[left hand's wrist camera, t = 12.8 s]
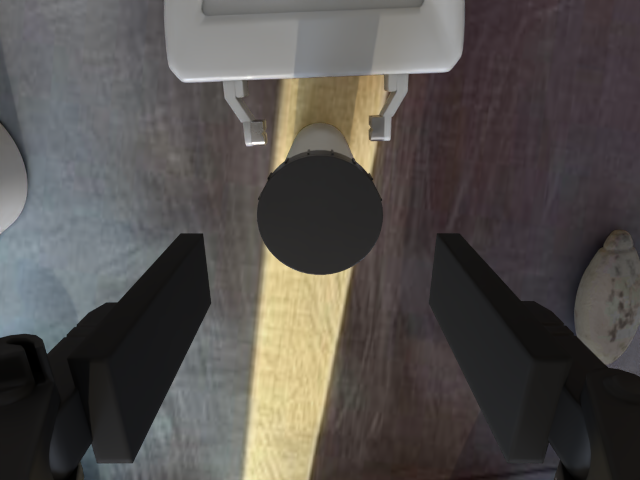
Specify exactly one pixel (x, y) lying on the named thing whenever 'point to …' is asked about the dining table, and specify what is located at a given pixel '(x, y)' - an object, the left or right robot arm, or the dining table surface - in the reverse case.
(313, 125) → the jar
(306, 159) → the lid
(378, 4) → the right robot arm
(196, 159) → the dining table surface
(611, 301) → the decorative stone
